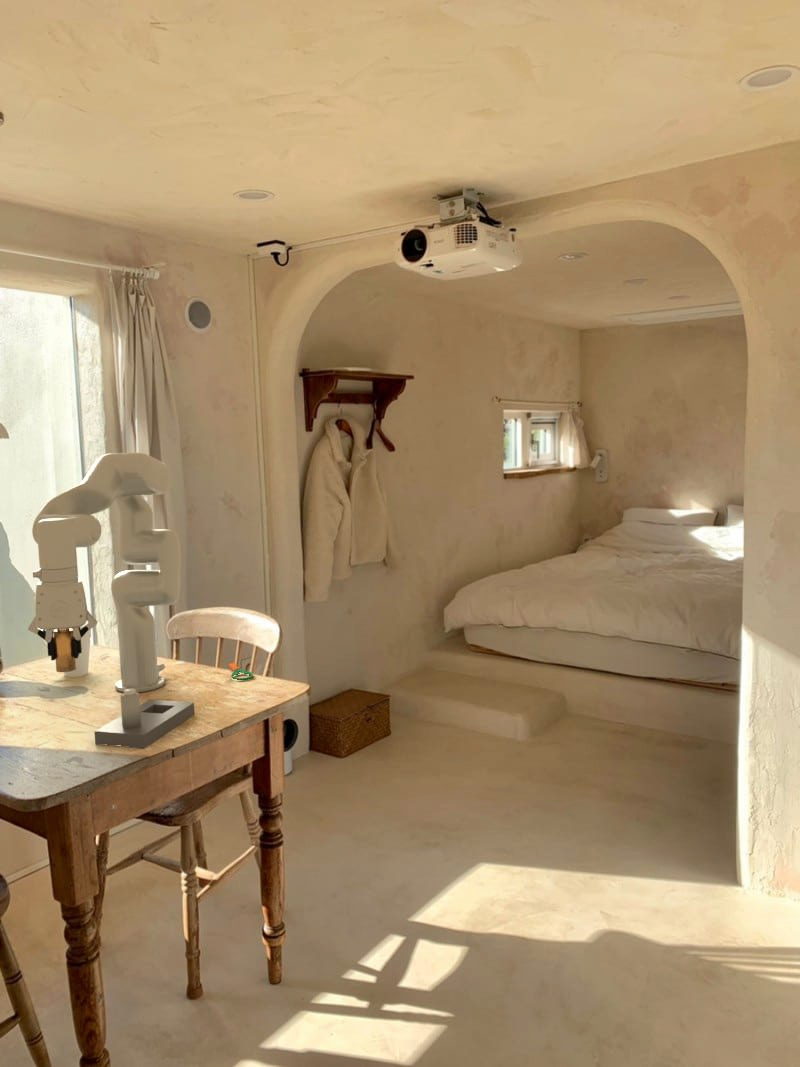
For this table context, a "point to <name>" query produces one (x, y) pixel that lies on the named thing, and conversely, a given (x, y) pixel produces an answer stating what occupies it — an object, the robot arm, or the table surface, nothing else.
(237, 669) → the magnifying glass
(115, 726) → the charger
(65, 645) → the amber bottle
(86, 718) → the table surface
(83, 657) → the foam cup
